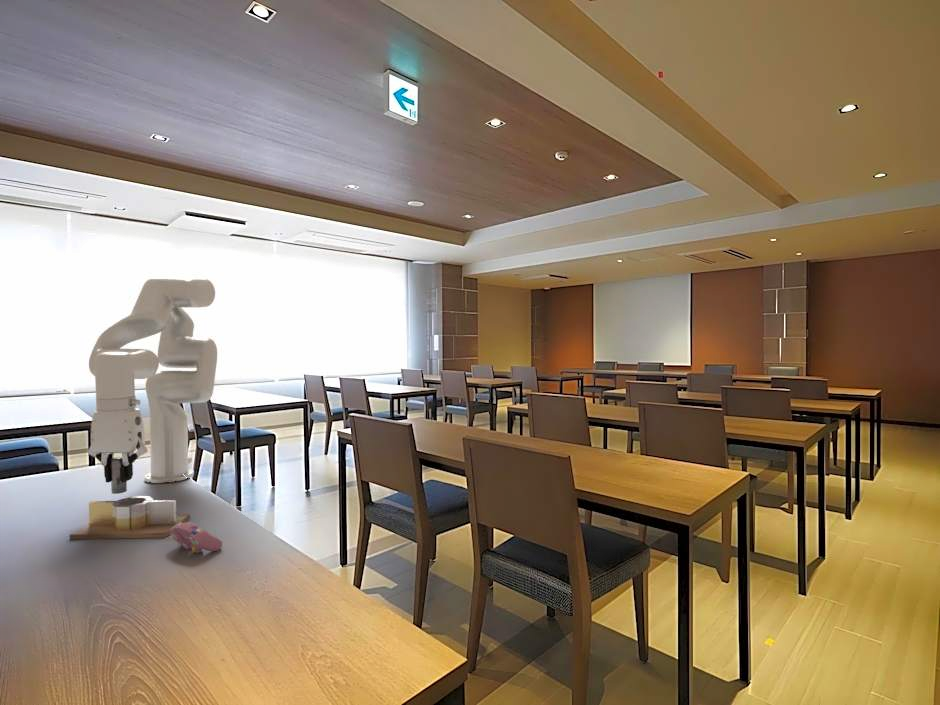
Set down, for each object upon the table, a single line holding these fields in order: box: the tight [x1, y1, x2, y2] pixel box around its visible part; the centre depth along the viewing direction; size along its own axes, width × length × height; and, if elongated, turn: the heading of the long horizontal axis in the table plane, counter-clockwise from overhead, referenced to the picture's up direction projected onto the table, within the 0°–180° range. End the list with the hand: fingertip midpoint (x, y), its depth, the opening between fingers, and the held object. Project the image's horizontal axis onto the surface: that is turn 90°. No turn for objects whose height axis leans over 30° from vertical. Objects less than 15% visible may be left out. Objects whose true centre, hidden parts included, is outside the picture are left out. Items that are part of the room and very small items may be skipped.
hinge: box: [88, 495, 177, 530], centre depth 111 cm, size 7×18×5 cm, turn 94°
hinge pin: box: [110, 456, 128, 495], centre depth 120 cm, size 3×3×8 cm
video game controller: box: [169, 521, 223, 554], centre depth 100 cm, size 10×5×7 cm, turn 63°
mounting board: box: [69, 513, 191, 540], centre depth 111 cm, size 11×19×1 cm, turn 94°
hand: (119, 479), depth 121 cm, fingers closed on hinge pin, 2 cm apart
